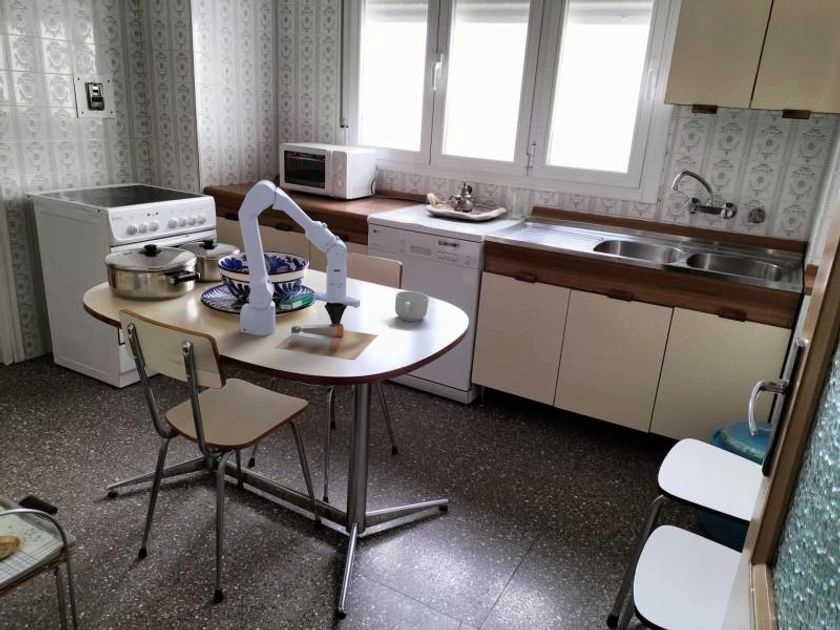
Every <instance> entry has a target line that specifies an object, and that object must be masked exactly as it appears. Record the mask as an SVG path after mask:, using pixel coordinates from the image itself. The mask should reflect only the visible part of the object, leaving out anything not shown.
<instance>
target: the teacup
mask: <svg viewBox="0 0 840 630" xmlns="http://www.w3.org/2000/svg"><path fill="white" fill-rule="evenodd" d="M429 301H430V297H429V296H428V294H425V293H423V292H420V291H419V292H418V291H412V290H407V291H406V290H405V291H398V292H396V293H395V302H394V304H395V305H394V311H395V313H396V315H397V316H398V317H399V318H400V320H403V321H407V322H419V321H420V320H423V318H425V317H426V316H427V312H428V307H429Z"/></svg>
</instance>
